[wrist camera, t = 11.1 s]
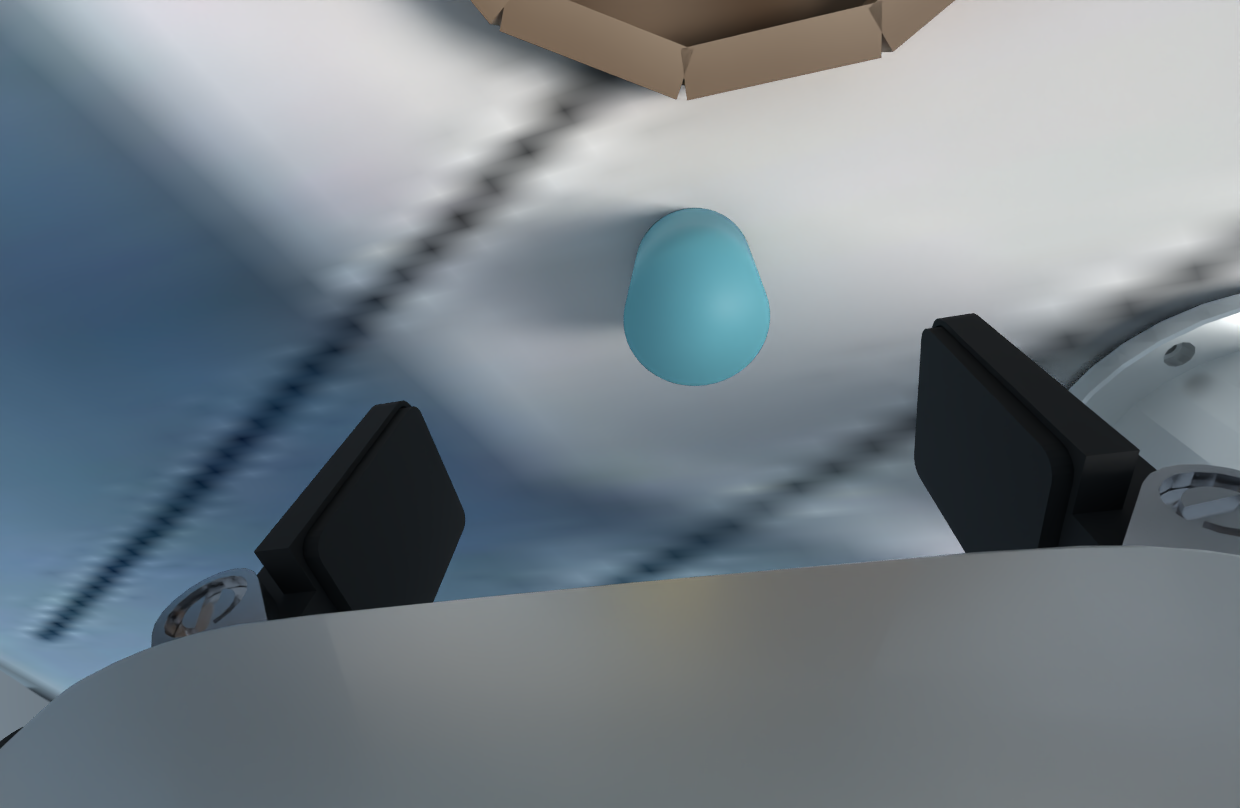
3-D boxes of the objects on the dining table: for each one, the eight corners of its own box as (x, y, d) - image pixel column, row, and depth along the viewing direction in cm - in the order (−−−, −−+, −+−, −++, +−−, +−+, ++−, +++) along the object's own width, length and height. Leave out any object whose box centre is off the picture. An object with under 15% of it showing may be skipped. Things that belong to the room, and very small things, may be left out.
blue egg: (744, 197, 19) (763, 237, 15) (755, 311, 21) (775, 376, 17) (625, 220, 20) (610, 264, 15) (646, 328, 22) (638, 394, 17)
